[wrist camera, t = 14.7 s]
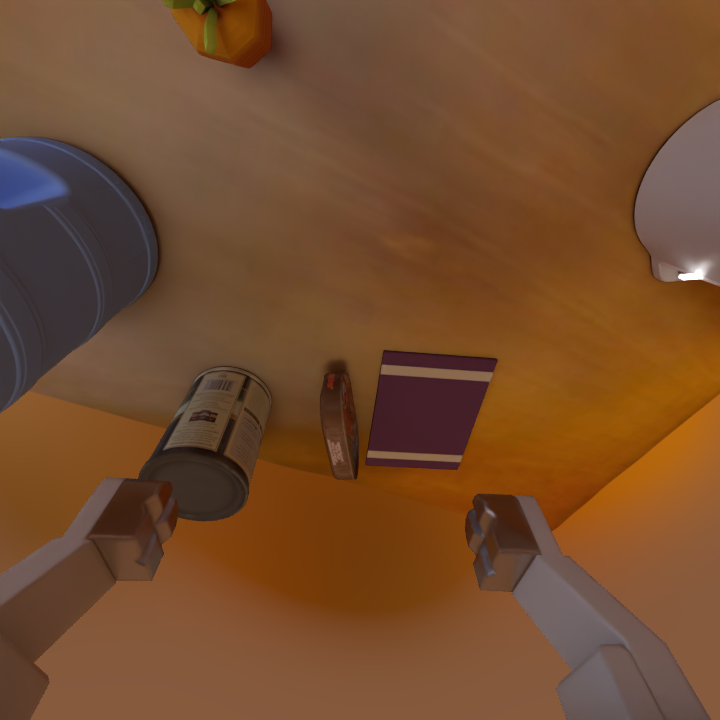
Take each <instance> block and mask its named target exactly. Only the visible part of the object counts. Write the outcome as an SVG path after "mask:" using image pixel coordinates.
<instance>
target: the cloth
mask: <svg viewBox="0 0 720 720" xmlns="http://www.w3.org/2000/svg"><path fill="white" fill-rule="evenodd" d="M496 363H497V359H493V358H479V357H466V356H452V355H439V354H425V353H411V352H398V351H384V352H383V358H382V364H381V370H380V377H379V383H378V389H377V395H376V402H375V408H374V414H373V420H372V427H371V433H370V439H369V445H368V452H367V458H366V465H370V466H390V467H410V468H429V469H449V470H457V469H458V467H459V464H460V462H461V459H462V457H463V453H464V450H465V448H466V445H467V442H468V439H469V437H470V434H471V431H472V429H473V426H474V423H475V420H476V418H477V415H478V412H479V410H480V407H481V404H482V401H483V399H484V396H485V393H486V391H487V388H488V385H489V382H490V381H491V378H492V375H493V371H494V369H495V366H496Z"/></svg>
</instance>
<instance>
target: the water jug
mask: <svg viewBox="0 0 720 720" xmlns="http://www.w3.org/2000/svg"><path fill="white" fill-rule="evenodd" d="M157 264H158V246H157V240H156V236H155V232H154V229H153V226H152V223H151V221H150V219H149V217H148V215H147V213H146V211H145V209H144V207H143V206H142V204H141V203H140V201H139V200H138V198H137V197H136V195H135V194H134V193H133V192H132V190H131V189H130V188H129V187H128V186H127V185H126V183H125V182H124V181H123V180H122V179H121V178H120V177H119V176H118V175H116V174H115V173H114V172H113V171H112V170H111V169H110V168H108V167H107V166H106V165H104V164H103V163H102V162H100V161H99V160H97V159H96V158H94V157H93V156H91V155H89V154H87V153H86V152H84V151H82V150H80V149H78V148H75V147H73V146H71V145H68V144H65V143H62V142H59V141H56V140H52V139H47V138H40V137H14V138H4V139H0V413H1V412H3V411H4V410H6V409H7V408H8V407H9V406H11V405H12V404H13V403H14V402H16V401H17V400H18V399H19V398H20V397H21V396H23V395H24V394H25V393H26V392H27V391H28V390H29V389H30V388H31V387H32V386H33V385H34V384H35V383H36V382H37V380H38V379H39V378H41V377H42V376H43V375H44V374H45V373H47V372H48V371H49V370H50V369H51V368H53V367H54V366H55V365H56V364H57V363H59V362H60V361H61V360H62V359H63V358H65V357H66V356H67V355H68V354H69V353H71V352H72V351H73V350H75V349H77V348H78V347H80V346H81V345H83V344H84V343H86V342H87V341H88V340H89V339H90V338H92V337H93V336H94V335H95V334H96V333H97V332H98V331H99V330H100V329H101V328H102V327H103V326H104V325H105V324H106V322H108V321H109V320H110V319H111V318H112V317H114V316H115V315H116V314H117V313H118V312H120V311H121V310H122V309H123V308H125V307H127V306H129V305H130V304H132V303H133V302H134V301H135V300H137V299H138V298H139V297H140V296H141V295H142V294H143V293H144V292H145V291H146V290H147V289H148V287H149V286H150V284H151V283H152V281H153V278H154V276H155V273H156V269H157Z"/></svg>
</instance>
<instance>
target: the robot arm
mask: <svg viewBox="0 0 720 720" xmlns="http://www.w3.org/2000/svg"><path fill="white" fill-rule="evenodd" d="M634 220H635V228H636V232H637V235H638V237H639V239H640V241H641V243H642V244H643V245H644V247H645V248H646V249H647V250H648V252H649V253H650V255H651V261H652V272H653V275H654V277H655V278H656V279H658V280H661V281H664V282H675V281H685V280H696V279H701V280H704V281H706V282H709V283H712V284H714V285H717V286H720V100H718V101H716V102H714V103H712V104H711V105H709V106H707V107H706V108H704V109H703V110H701V111H700V112H698V113H697V114H696V115H694V116H693V117H692V118H691V119H689V120H688V121H687V122H686V123H685V124H684V125H682V126H681V127H680V128H679V129H678V130H677V131H676V132H675V133H674V134H673V135H672V136H671V138H670V139H669V140H668V141H667V142H666V143H665V145H664V146H663V147H662V148H661V150H660V151H659V152H658V154H657V155H656V157H655V158H654V160H653V161H652V163H651V165H650V166H649V168H648V170H647V172H646V174H645V176H644V178H643V181H642V183H641V186H640V188H639V191H638V195H637V199H636V204H635V212H634ZM172 491H173V487H172V484H171V482H170V481H161V480H145V479H129V478H110V477H107V478H106V479H105V480H103V481H102V482H101V483H100V484H99V485H98V487H97V488H96V490H95V491H94V493H93V494H92V495H91V497H90V498H89V500H88V501H87V503H86V504H85V505H84V507H83V508H82V510H81V511H80V513H79V514H78V515H77V517H76V518H75V519H74V521H73V522H72V524H71V525H70V527H69V528H68V529H67V531H66V532H65V534H64V535H63V537H62V538H56V539H55V538H54V539H53V540H52V541H50V542H49V543H47V544H46V545H44V546H43V547H41V548H40V549H38V550H37V551H35V552H34V553H32V554H31V555H29V556H28V557H26V558H25V559H23V560H22V561H20V562H19V563H17V564H16V565H14V566H13V567H11V568H10V569H8V570H7V571H5V572H4V573H3V574H1V575H0V720H30V719H31V717H32V715H33V713H34V711H35V709H36V707H37V706H38V704H39V702H40V700H41V698H42V696H43V694H44V692H45V690H46V688H47V687H48V685H49V678H48V675H47V674H45V673H44V672H43V671H42V670H41V669H40V668H39V667H38V666H37V665H35V664H34V662H35V661H36V660H37V659H38V658H39V657H40V656H41V655H42V654H43V653H44V652H45V651H46V650H47V649H48V648H49V647H50V646H52V645H53V644H54V643H55V642H56V641H57V640H58V639H59V638H60V637H61V636H62V635H63V634H64V633H65V632H66V631H67V630H68V629H69V628H70V627H71V626H72V625H73V624H74V623H75V622H76V621H77V620H78V619H79V618H80V617H81V616H82V615H83V614H84V613H86V612H87V611H88V610H89V609H90V608H91V607H92V606H93V605H94V604H95V603H96V602H97V601H98V600H99V599H100V598H101V597H102V596H103V595H104V594H105V593H106V592H107V591H108V590H109V589H110V588H111V587H112V586H113V585H114V584H115V583H116V581H152V579H153V577H154V575H155V572H156V570H157V568H158V566H159V564H160V561H161V559H162V557H163V555H164V552H163V549H162V544H163V543H164V542H165V541H166V540H168V539H169V538H170V537H171V536H172V534H173V531H174V529H175V527H176V523H177V519H178V514H179V513H178V503H177V500H176V499H175V498H174V497H172V496H171V493H172ZM473 506H474V508H473V509H472V510H470V511H469V512H468V514H467V517H466V522H465V532H466V539H467V543H468V547H469V548H470V549H471V550H472V551H473V552H474V553H475V555H476V558H475V560H474V563H473V565H474V569H475V573H476V577H477V580H478V583H479V588H480V590H488V591H489V590H490V591H505V592H512V595H513V596H514V597H515V599H516V600H517V601H518V602H519V604H520V605H521V606H522V607H523V609H524V610H525V611H526V613H527V614H528V615H529V616H530V618H531V619H532V620H533V622H534V623H535V624H536V625H537V627H538V628H539V629H540V631H541V632H542V633H543V634H544V636H545V637H546V638H547V639H548V641H549V642H550V643H551V645H552V646H553V647H554V648H555V650H556V651H557V652H558V653H559V655H560V656H561V657H562V659H563V660H564V661H565V663H566V664H567V665H568V666H569V668H570V669H571V670H572V671H571V672H570V673H569V674H568V675H567V676H566V677H565V678H564V679H563V680H561V681H560V682H559V684H558V686H557V688H556V690H557V693H558V696H559V699H560V702H561V705H562V707H563V710H564V713H565V716H566V719H567V720H711V719H710V717H709V715H708V714H707V712H706V710H705V709H704V707H703V705H702V704H701V702H700V700H699V698H698V697H697V695H696V693H695V692H694V690H693V688H692V687H691V685H690V683H689V682H688V680H687V678H686V676H685V675H684V673H683V671H682V670H681V668H680V666H679V665H678V663H677V662H676V660H675V658H674V656H673V655H672V653H671V651H670V649H669V648H668V646H667V644H666V643H665V642H664V641H662V640H661V639H660V638H659V637H658V636H657V635H656V634H655V633H654V632H653V631H651V630H650V629H649V628H648V627H647V626H646V625H645V624H644V623H643V622H641V621H640V620H639V619H638V618H637V617H636V616H635V615H634V614H633V613H631V612H630V611H629V610H628V609H627V608H626V607H625V606H624V605H623V604H621V603H620V602H619V601H618V600H617V599H616V598H615V597H614V596H613V595H611V594H610V593H609V592H608V591H607V590H605V588H604V587H603V586H602V585H600V584H599V583H598V582H597V581H596V580H595V579H594V578H593V577H592V576H590V575H589V574H588V573H587V572H586V571H585V570H584V569H583V568H582V567H580V566H579V565H578V564H577V563H576V562H575V561H574V560H573V559H572V558H571V557H569V556H563V554H562V552H561V550H560V548H559V546H558V544H557V542H556V540H555V538H554V535H553V534H552V531H551V529H550V527H549V525H548V523H547V521H546V519H545V517H544V515H543V513H542V511H541V509H540V507H539V505H538V502H537V500H536V499H535V498H534V497H533V496H513V495H502V494H477V495H476V496H475V497H474V499H473Z"/></svg>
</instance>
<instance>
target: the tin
mask: <svg viewBox="0 0 720 720" xmlns="http://www.w3.org/2000/svg"><path fill="white" fill-rule="evenodd" d="M320 416H321V425H322V430H323V435H324V439H325V444H326V448H327V452H328V457H329V461H330V465H331V469H332V472H333V475H334V477H335V478H336V479H338V480H348V479H353V480H356V479H357V475H358V465H359V440H358V429H357V422H356V415H355V409H354V403H353V396H352V390H351V384H350V379H349V375H348V373H347V372H346V371H344V372H335V373H327V374H325V376H324V381H323V387H322V391H321V395H320Z"/></svg>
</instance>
